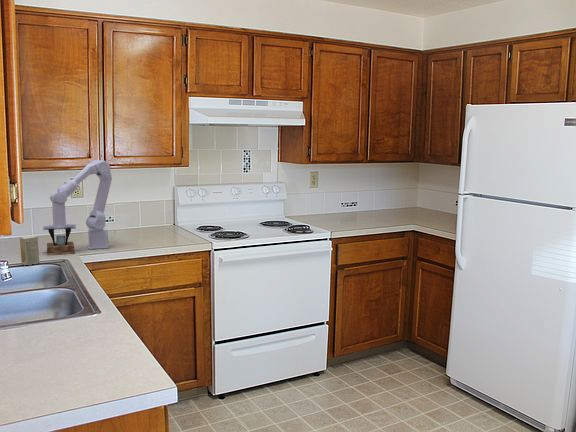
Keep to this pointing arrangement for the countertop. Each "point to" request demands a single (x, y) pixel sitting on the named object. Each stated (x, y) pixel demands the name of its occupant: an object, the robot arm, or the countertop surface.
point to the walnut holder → (60, 249)
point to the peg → (60, 240)
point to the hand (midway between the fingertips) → (60, 244)
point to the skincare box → (29, 250)
